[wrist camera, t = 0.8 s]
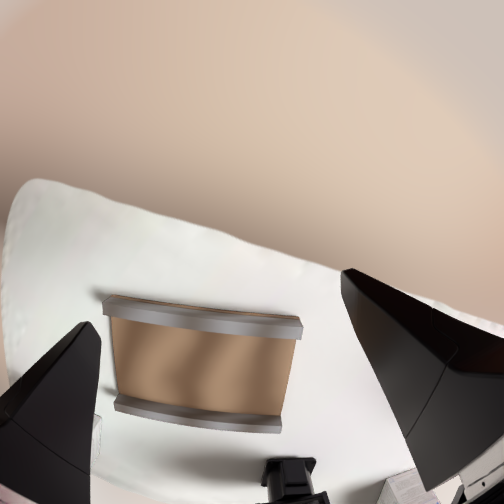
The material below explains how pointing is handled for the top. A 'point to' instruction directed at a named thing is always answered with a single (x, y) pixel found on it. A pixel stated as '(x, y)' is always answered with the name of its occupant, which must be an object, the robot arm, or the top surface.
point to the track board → (201, 364)
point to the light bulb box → (406, 490)
